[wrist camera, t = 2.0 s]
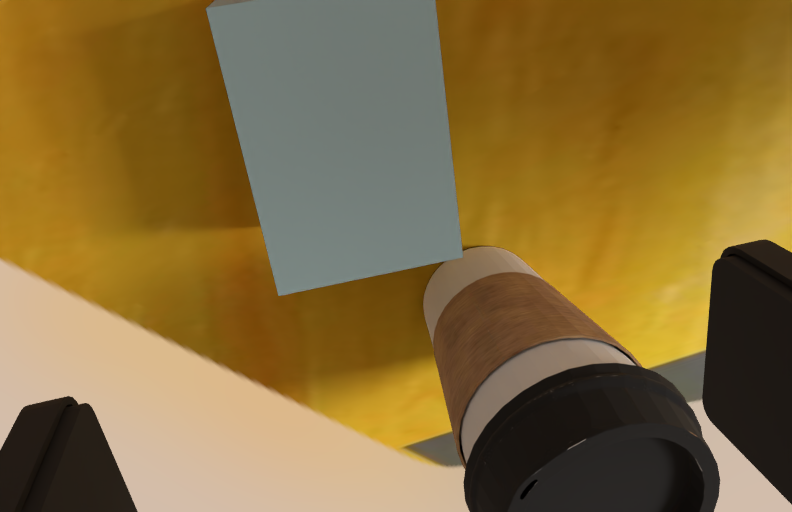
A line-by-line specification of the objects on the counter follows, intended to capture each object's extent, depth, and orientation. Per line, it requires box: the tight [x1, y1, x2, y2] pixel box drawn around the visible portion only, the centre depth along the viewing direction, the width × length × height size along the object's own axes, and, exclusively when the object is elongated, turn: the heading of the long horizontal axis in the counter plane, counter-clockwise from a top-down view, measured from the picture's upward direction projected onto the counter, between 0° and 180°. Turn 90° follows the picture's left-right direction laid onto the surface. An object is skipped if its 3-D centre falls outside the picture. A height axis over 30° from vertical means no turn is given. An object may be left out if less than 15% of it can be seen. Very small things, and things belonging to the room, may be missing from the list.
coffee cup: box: [423, 246, 720, 512], centre depth 27 cm, size 8×8×15 cm
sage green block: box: [206, 0, 463, 296], centre depth 25 cm, size 7×10×7 cm
